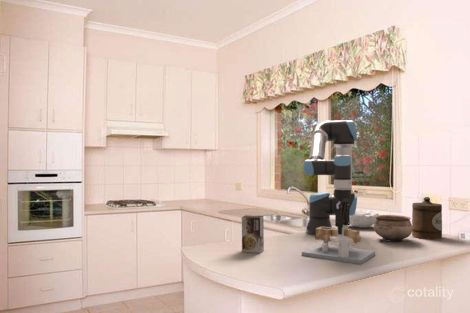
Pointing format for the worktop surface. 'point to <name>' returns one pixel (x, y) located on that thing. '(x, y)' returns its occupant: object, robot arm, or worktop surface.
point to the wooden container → (427, 220)
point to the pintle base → (339, 251)
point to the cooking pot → (393, 227)
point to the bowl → (363, 219)
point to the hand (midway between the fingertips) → (342, 240)
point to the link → (328, 232)
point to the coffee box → (252, 234)
